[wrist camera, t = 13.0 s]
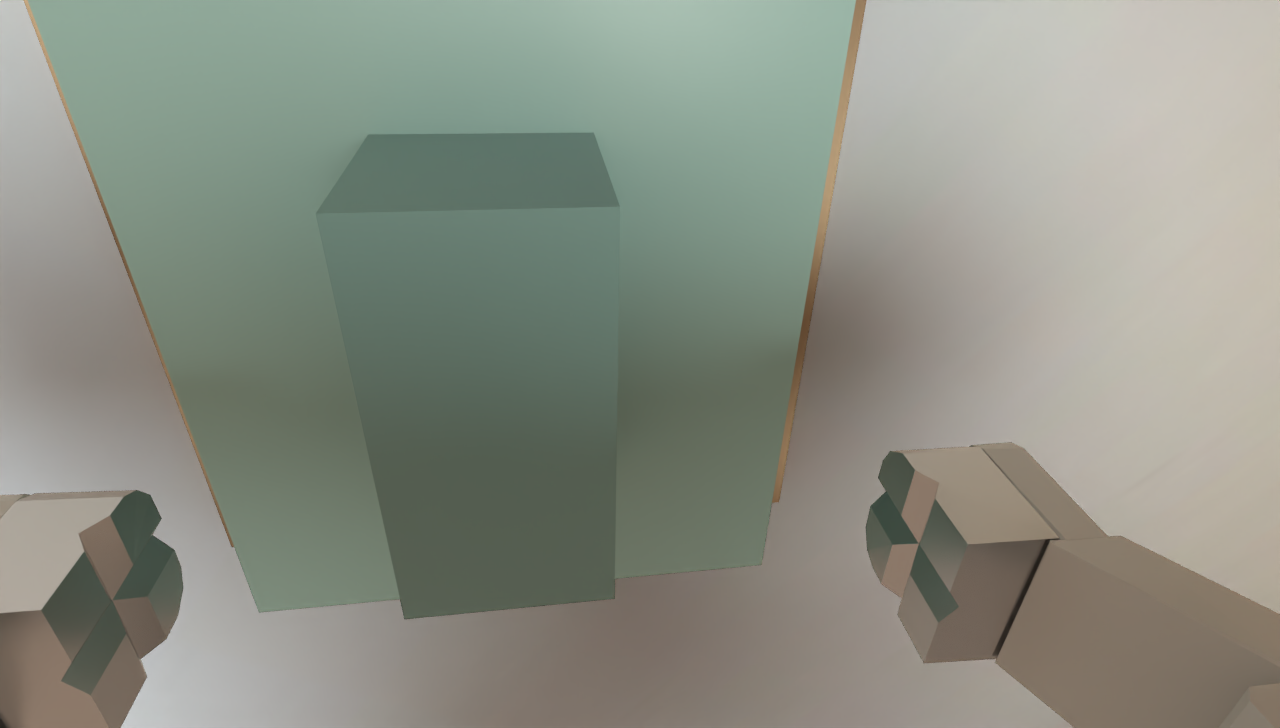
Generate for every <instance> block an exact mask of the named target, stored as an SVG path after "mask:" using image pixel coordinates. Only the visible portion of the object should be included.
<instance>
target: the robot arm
mask: <svg viewBox="0 0 1280 728" xmlns="http://www.w3.org/2000/svg"><path fill="white" fill-rule="evenodd" d="M878 479H879V480H880V482H881V483H882V485H883V487H884V488H885V490H886V492H885V493H884V494H883V495H882V496H881V497H880V498H879V499H878V500H877V501H876V502H875V503H873V504H872V505H871V506H870V511H869V515H868V520H867V524H866V538H867V551H868V554H869V557H870V560H871V564H872V567H873V569H874V571H875V573H876V575H877V577H878V579H879V581H880V583H881V584H882V585H884V586H885V587H886V588H888V589H889V590H891V591H892V592H894V593H895V594H897V595H898V596H899V597H901V598H902V599H901V602H900V606H899V610H898V614H897V615H898V617H899V618H900V620H901V622H902V624H903V626H904V628H905V630H906V631H907V633H908V635H909V637H910V639H911V641H912V642H913V644H914V646H915V648H916V650H917V652H918V654H919V655H920V657H921V659H922V661H923V663H936V662H952V661H967V660H983V659H996V661H995V663H996V664H998V665H999V666H1000V667H1001V668H1002V669H1004V670H1005V671H1006V672H1007V673H1009V674H1010V675H1011V676H1012V677H1013V678H1015V679H1016V680H1017V681H1018V682H1019V683H1021V684H1022V685H1023V686H1024V687H1026V688H1027V689H1028V690H1029V691H1030V692H1032V693H1033V694H1034V695H1035V696H1037V697H1038V698H1039V699H1040V700H1041V701H1043V702H1044V703H1045V704H1046V705H1047V706H1049V707H1050V708H1051V709H1052V710H1054V711H1055V712H1056V713H1057V714H1058V715H1060V716H1061V717H1062V718H1063V719H1065V720H1066V721H1067V722H1068V723H1069V724H1071V725H1072V726H1073V727H1074V728H1280V614H1278V613H1276V612H1274V611H1272V610H1270V609H1268V608H1266V607H1264V606H1262V605H1260V604H1258V603H1256V602H1254V601H1252V600H1250V599H1248V598H1246V597H1244V596H1242V595H1240V594H1238V593H1236V592H1234V591H1232V590H1230V589H1228V588H1226V587H1223V586H1221V585H1219V584H1217V583H1215V582H1213V581H1211V580H1209V579H1207V578H1205V577H1203V576H1201V575H1199V574H1197V573H1195V572H1193V571H1191V570H1189V569H1187V568H1185V567H1183V566H1181V565H1179V564H1177V563H1175V562H1173V561H1171V560H1169V559H1167V558H1165V557H1163V556H1161V555H1159V554H1157V553H1155V552H1153V551H1151V550H1149V549H1147V548H1145V547H1142V546H1140V545H1138V544H1136V543H1134V542H1132V541H1130V540H1128V539H1126V538H1124V537H1122V536H1111V537H1108V536H1107V535H1106V534H1105V533H1104V532H1103V531H1102V530H1101V529H1100V528H1099V527H1098V526H1097V525H1096V523H1095V522H1094V521H1093V520H1092V519H1091V518H1090V517H1089V516H1088V515H1087V514H1086V513H1085V512H1084V511H1083V510H1082V509H1081V508H1080V507H1079V506H1078V505H1077V504H1076V502H1075V501H1074V500H1073V499H1072V498H1071V497H1070V496H1069V495H1068V494H1067V493H1066V492H1065V491H1064V490H1063V489H1062V488H1061V487H1060V486H1059V485H1058V484H1057V483H1056V482H1055V480H1054V479H1053V478H1052V477H1051V476H1050V475H1049V474H1048V473H1047V472H1046V471H1045V470H1044V469H1043V468H1042V467H1041V466H1040V465H1039V464H1038V463H1037V462H1036V461H1035V460H1034V458H1033V457H1032V456H1031V455H1030V454H1029V453H1028V452H1027V451H1026V450H1025V449H1024V448H1022V447H1020V446H1018V445H1016V444H1014V443H1012V442H1008V443H994V444H981V445H971V446H969V447H952V448H934V449H917V450H900V451H890V452H889V454H888V455H887V456H886V458H885V459H884V460H883V462H882V466H881V469H880V473H879V476H878ZM160 521H161V516H160V514H159V512H158V510H157V508H156V506H155V504H154V502H153V500H152V497H151V495H149V494H146V493H143V492H140V491H138V490H124V491H92V492H60V493H34V494H32V495H27V494H20V495H0V728H121V726H122V724H123V722H124V720H125V718H126V716H127V714H128V712H129V710H130V709H131V707H132V705H133V703H134V701H135V699H136V697H137V695H138V693H139V691H140V689H141V687H142V686H143V684H144V682H145V680H146V678H147V675H146V672H145V670H144V667H143V664H142V661H141V658H142V657H144V656H145V655H146V654H148V653H149V652H150V651H152V650H153V649H154V648H155V647H157V646H158V645H159V644H161V643H162V642H163V641H164V640H166V639H167V637H168V635H169V633H170V631H171V629H172V627H173V625H174V623H175V621H176V618H177V616H178V613H179V608H180V602H181V597H182V592H183V581H182V572H181V566H180V563H179V561H178V558H177V555H176V553H175V550H174V549H172V548H171V547H169V546H168V545H166V544H165V543H163V542H162V541H160V540H159V539H157V538H156V537H154V536H153V533H154V531H155V530H156V528H157V526H158V524H159V522H160Z"/></svg>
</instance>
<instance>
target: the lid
mask: <svg viewBox="0 0 1280 728" xmlns="http://www.w3.org/2000/svg"><path fill="white" fill-rule="evenodd" d="M28 3H29V5H30V8H31V11H32V13H33V16H34V18H35V21H36V24H37V26H38V29H39V32H40V34H41V37H42V40H43V42H44V45H45V48H46V50H47V53H48V55H49V58H50V61H51V63H52V66H53V69H54V71H55V74H56V77H57V79H58V82H59V85H60V87H61V90H62V92H63V95H64V98H65V100H66V103H67V106H68V108H69V111H70V114H71V116H72V119H73V122H74V124H75V127H76V130H77V132H78V135H79V137H80V140H81V143H82V145H83V148H84V151H85V153H86V156H87V159H88V161H89V164H90V167H91V169H92V172H93V174H94V177H95V180H96V182H97V185H98V188H99V190H100V193H101V196H102V198H103V201H104V204H105V206H106V209H107V212H108V214H109V217H110V219H111V222H112V225H113V227H114V230H115V233H116V235H117V238H118V241H119V243H120V246H121V249H122V251H123V254H124V256H125V259H126V262H127V264H128V267H129V270H130V272H131V275H132V278H133V280H134V283H135V286H136V288H137V291H138V294H139V296H140V299H141V301H142V304H143V307H144V309H145V312H146V315H147V317H148V320H149V323H150V325H151V328H152V331H153V333H154V336H155V338H156V341H157V344H158V346H159V349H160V352H161V354H162V357H163V360H164V362H165V365H166V368H167V370H168V373H169V375H170V378H171V381H172V383H173V386H174V389H175V391H176V394H177V397H178V399H179V402H180V405H181V407H182V410H183V413H184V415H185V418H186V420H187V423H188V426H189V428H190V431H191V434H192V436H193V439H194V442H195V444H196V447H197V450H198V452H199V455H200V457H201V460H202V463H203V465H204V468H205V471H206V473H207V476H208V479H209V481H210V484H211V487H212V489H213V492H214V495H215V497H216V500H217V502H218V505H219V508H220V510H221V513H222V516H223V518H224V521H225V524H226V526H227V529H228V532H229V534H230V537H231V539H232V542H233V545H234V547H235V550H236V553H237V555H238V558H239V561H240V563H241V566H242V569H243V571H244V574H245V576H246V579H247V582H248V584H249V587H250V590H251V592H252V595H253V598H254V600H255V603H256V606H257V608H258V611H259V612H270V611H280V610H291V609H302V608H312V607H323V606H333V605H344V604H354V603H365V602H375V601H386V600H397V599H400V601H401V606H402V610H403V615H404V619H413V618H423V617H433V616H444V615H454V614H464V613H474V612H484V611H494V610H504V609H515V608H525V607H535V606H545V605H555V604H565V603H576V602H586V601H596V600H606V599H615V579H618V578H629V577H639V576H650V575H661V574H671V573H682V572H692V571H703V570H713V569H724V568H734V567H745V566H756V565H762V559H763V553H764V547H765V541H766V535H767V529H768V523H769V517H770V511H771V505H772V499H773V493H774V487H775V481H776V475H777V469H778V463H779V457H780V451H781V445H782V439H783V433H784V427H785V421H786V415H787V409H788V403H789V398H790V392H791V386H792V380H793V374H794V368H795V362H796V356H797V350H798V344H799V338H800V332H801V326H802V320H803V314H804V308H805V302H806V296H807V290H808V284H809V278H810V272H811V266H812V260H813V254H814V248H815V242H816V236H817V230H818V224H819V218H820V212H821V206H822V200H823V194H824V188H825V182H826V176H827V170H828V164H829V158H830V152H831V146H832V140H833V134H834V129H835V123H836V117H837V111H838V105H839V99H840V93H841V87H842V81H843V75H844V69H845V63H846V57H847V51H848V45H849V39H850V33H851V27H852V21H853V15H854V9H855V3H856V0H28Z"/></svg>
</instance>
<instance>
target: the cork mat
mask: <svg viewBox="0 0 1280 728" xmlns="http://www.w3.org/2000/svg"><path fill="white" fill-rule="evenodd" d="M24 3H25V5H26V8H27V10H28V13H29V16H30V18H31V21H32V24H33V26H34V29H35V32H36V34H37V37H38V39H39V42H40V45H41V47H42V50H43V53H44V55H45V58H46V60H47V63H48V66H49V68H50V71H51V74H52V76H53V79H54V81H55V84H56V87H57V89H58V92H59V95H60V97H61V100H62V102H63V105H64V108H65V110H66V113H67V116H68V118H69V121H70V123H71V126H72V129H73V131H74V134H75V137H76V139H77V142H78V144H79V147H80V150H81V152H82V155H83V158H84V160H85V163H86V165H87V168H88V171H89V173H90V176H91V179H92V181H93V184H94V186H95V189H96V192H97V194H98V197H99V200H100V202H101V205H102V207H103V210H104V213H105V215H106V218H107V221H108V223H109V226H110V229H111V231H112V234H113V236H114V239H115V242H116V244H117V247H118V250H119V252H120V255H121V257H122V260H123V263H124V265H125V268H126V271H127V273H128V276H129V278H130V281H131V284H132V286H133V289H134V292H135V294H136V297H137V299H138V302H139V305H140V307H141V310H142V313H143V315H144V318H145V320H146V323H147V326H148V328H149V331H150V334H151V336H152V339H153V341H154V344H155V347H156V349H157V352H158V355H159V357H160V360H161V362H162V365H163V368H164V370H165V373H166V376H167V378H168V381H169V383H170V386H171V389H172V391H173V394H174V397H175V399H176V402H177V404H178V407H179V410H180V412H181V415H182V418H183V420H184V423H185V426H186V428H187V431H188V433H189V436H190V439H191V441H192V444H193V447H194V449H195V452H196V454H197V457H198V460H199V462H200V465H201V468H202V470H203V473H204V475H205V478H206V481H207V483H208V486H209V489H210V491H211V494H212V496H213V499H214V502H215V504H216V507H217V510H218V512H219V515H220V517H221V520H222V523H223V525H224V528H225V531H226V533H227V536H228V538H229V541H230V544H231V546H232V547H234V545H233V542H232V539H231V537H230V534H229V532H228V529H227V526H226V524H225V521H224V518H223V516H222V513H221V510H220V508H219V505H218V502H217V500H216V497H215V495H214V492H213V489H212V487H211V484H210V481H209V479H208V476H207V473H206V471H205V468H204V465H203V463H202V460H201V457H200V455H199V452H198V450H197V447H196V444H195V442H194V439H193V436H192V434H191V431H190V428H189V426H188V423H187V420H186V418H185V415H184V413H183V410H182V407H181V405H180V402H179V399H178V397H177V394H176V391H175V389H174V386H173V383H172V381H171V378H170V375H169V373H168V370H167V368H166V365H165V362H164V360H163V357H162V354H161V352H160V349H159V346H158V344H157V341H156V338H155V336H154V333H153V331H152V328H151V325H150V323H149V320H148V317H147V315H146V312H145V309H144V307H143V304H142V301H141V299H140V296H139V294H138V291H137V288H136V286H135V283H134V280H133V278H132V275H131V272H130V270H129V267H128V264H127V262H126V259H125V256H124V254H123V251H122V249H121V246H120V243H119V241H118V238H117V235H116V233H115V230H114V227H113V225H112V222H111V219H110V217H109V214H108V212H107V209H106V206H105V204H104V201H103V198H102V196H101V193H100V190H99V188H98V185H97V182H96V180H95V177H94V174H93V172H92V169H91V167H90V164H89V161H88V159H87V156H86V153H85V151H84V148H83V145H82V143H81V140H80V137H79V135H78V132H77V130H76V127H75V124H74V122H73V119H72V116H71V114H70V111H69V108H68V106H67V103H66V100H65V98H64V95H63V92H62V90H61V87H60V85H59V82H58V79H57V77H56V74H55V71H54V69H53V66H52V63H51V61H50V58H49V55H48V53H47V50H46V48H45V45H44V42H43V40H42V37H41V34H40V32H39V29H38V26H37V24H36V21H35V18H34V16H33V13H32V11H31V8H30V5H29V3H28V0H24ZM865 5H866V0H856V3H855V9H854V15H853V21H852V27H851V33H850V39H849V45H848V51H847V57H846V63H845V69H844V75H843V81H842V87H841V93H840V99H839V105H838V111H837V117H836V123H835V129H834V134H833V140H832V146H831V152H830V158H829V164H828V170H827V176H826V182H825V188H824V194H823V200H822V206H821V212H820V218H819V224H818V230H817V236H816V242H815V248H814V254H813V260H812V266H811V272H810V278H809V284H808V290H807V296H806V302H805V308H804V314H803V320H802V326H801V332H800V338H799V344H798V350H797V356H796V362H795V368H794V374H793V380H792V386H791V392H790V398H789V403H788V409H787V415H786V421H785V427H784V433H783V439H782V445H781V451H780V457H779V463H778V469H777V475H776V481H775V487H774V493H773V499H772V503H774V502H779V499H780V493H781V488H782V482H783V476H784V470H785V465H786V459H787V453H788V447H789V442H790V436H791V430H792V424H793V419H794V413H795V407H796V401H797V396H798V390H799V384H800V379H801V373H802V367H803V361H804V356H805V350H806V344H807V338H808V333H809V327H810V321H811V315H812V310H813V304H814V298H815V292H816V287H817V281H818V275H819V269H820V264H821V258H822V252H823V246H824V241H825V235H826V229H827V224H828V218H829V212H830V206H831V201H832V195H833V189H834V183H835V178H836V172H837V166H838V160H839V155H840V149H841V143H842V137H843V132H844V126H845V120H846V114H847V109H848V103H849V97H850V91H851V86H852V80H853V74H854V69H855V63H856V57H857V51H858V46H859V40H860V34H861V28H862V23H863V17H864V11H865Z"/></svg>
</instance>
